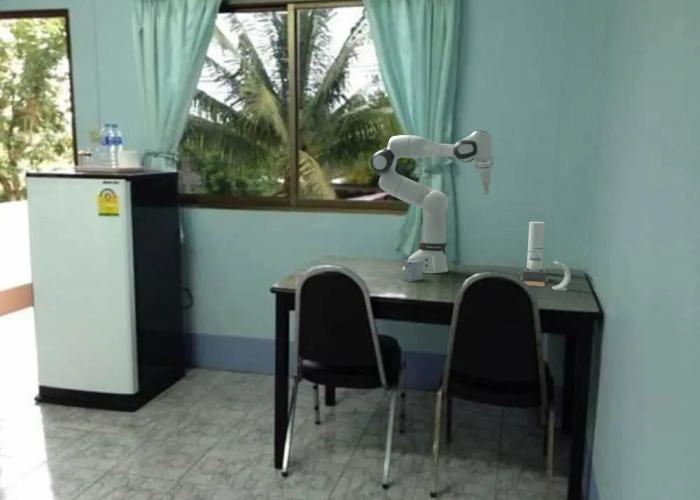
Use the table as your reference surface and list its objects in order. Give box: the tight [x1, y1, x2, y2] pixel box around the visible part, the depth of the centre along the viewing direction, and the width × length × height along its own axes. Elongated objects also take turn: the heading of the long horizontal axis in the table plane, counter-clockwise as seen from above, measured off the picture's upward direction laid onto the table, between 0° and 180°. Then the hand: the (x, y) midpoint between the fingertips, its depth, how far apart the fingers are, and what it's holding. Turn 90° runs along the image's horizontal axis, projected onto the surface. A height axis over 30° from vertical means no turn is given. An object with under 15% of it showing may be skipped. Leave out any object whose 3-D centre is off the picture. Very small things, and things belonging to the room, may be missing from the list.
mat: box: [523, 281, 546, 288], centre depth 275 cm, size 9×9×1 cm
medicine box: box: [403, 260, 423, 282], centre depth 281 cm, size 8×4×9 cm, turn 135°
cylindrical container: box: [526, 221, 546, 269], centre depth 302 cm, size 7×7×25 cm
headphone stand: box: [551, 260, 571, 291], centre depth 264 cm, size 5×6×12 cm
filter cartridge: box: [529, 257, 541, 272], centre depth 285 cm, size 5×5×10 cm
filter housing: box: [520, 267, 549, 284], centre depth 286 cm, size 12×12×4 cm
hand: (486, 194), depth 292 cm, fingers open, 8 cm apart
